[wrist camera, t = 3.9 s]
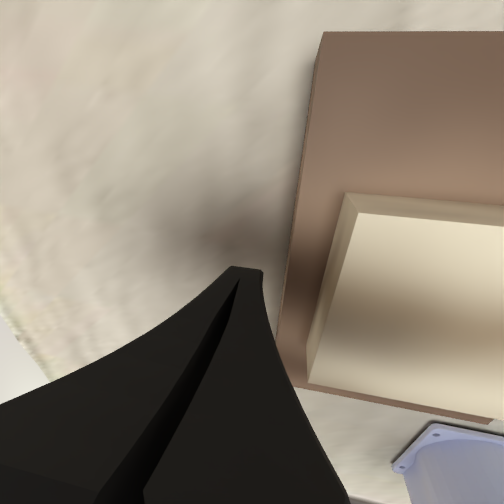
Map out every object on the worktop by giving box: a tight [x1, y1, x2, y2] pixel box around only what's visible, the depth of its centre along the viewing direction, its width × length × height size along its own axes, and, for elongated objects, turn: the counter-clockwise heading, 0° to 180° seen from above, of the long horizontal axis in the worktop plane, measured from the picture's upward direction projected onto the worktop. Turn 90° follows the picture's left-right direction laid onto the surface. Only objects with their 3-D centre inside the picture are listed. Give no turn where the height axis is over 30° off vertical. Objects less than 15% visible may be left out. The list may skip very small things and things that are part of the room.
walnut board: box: [275, 31, 504, 425], centre depth 10 cm, size 16×12×3 cm
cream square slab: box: [306, 192, 504, 421], centre depth 8 cm, size 8×8×2 cm
